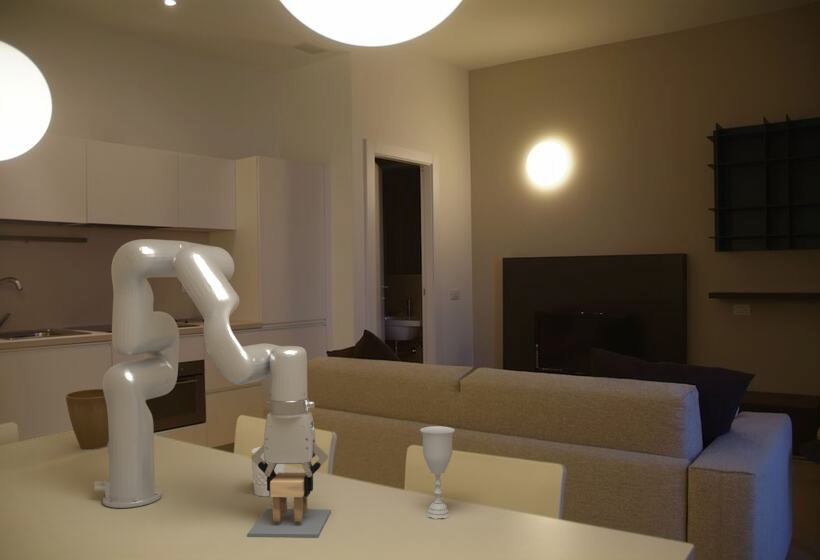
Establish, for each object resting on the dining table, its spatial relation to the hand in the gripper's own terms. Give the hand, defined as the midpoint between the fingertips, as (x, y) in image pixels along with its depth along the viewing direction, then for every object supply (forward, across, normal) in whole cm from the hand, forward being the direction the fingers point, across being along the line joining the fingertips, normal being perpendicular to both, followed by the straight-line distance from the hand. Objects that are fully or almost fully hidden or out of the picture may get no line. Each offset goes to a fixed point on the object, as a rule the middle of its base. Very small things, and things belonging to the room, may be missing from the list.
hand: (290, 493), depth 143 cm
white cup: (+6, +10, -20) cm, 23 cm away
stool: (+5, 0, 0) cm, 5 cm away
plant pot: (+7, +74, -61) cm, 96 cm away
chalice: (+6, -30, -6) cm, 31 cm away
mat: (+6, 0, 0) cm, 6 cm away
